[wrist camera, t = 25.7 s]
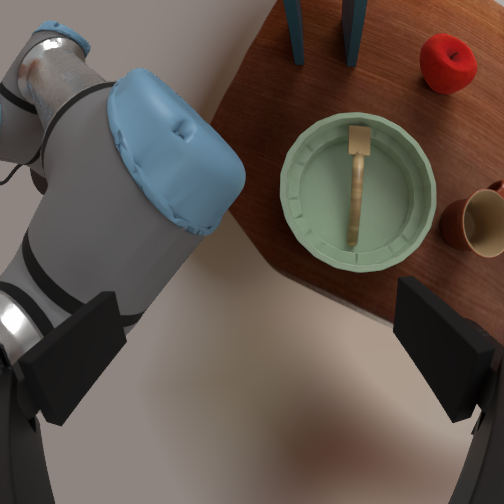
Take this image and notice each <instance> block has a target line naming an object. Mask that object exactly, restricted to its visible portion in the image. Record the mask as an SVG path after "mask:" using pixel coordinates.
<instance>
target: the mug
mask: <svg viewBox="0 0 504 504" xmlns="http://www.w3.org/2000/svg"><path fill="white" fill-rule="evenodd" d="M440 229H441V233H442V236H443V238H444V240H445V241H446V242H447V243H448V244H449V245H450V246H451V247H453V248H455V249H457V250H461V251H473V252H474V253H475V254H476V255H478V256H480V257H483V258H494V257H497V256H499V255H500V254H501V253H503V252H504V180H499V181H497V182H495V183H493V184H492V185H490V186H489V187H488V188H487V189H480V190H477V191H476V192H474V193H473V194H471V195H470V197H469V198H468V199H463V200H457V201H455V202H453V203H452V204H450V205H449V206H448V207H447V208H446V209H445V210H444V212H443V214H442V216H441V220H440Z"/></svg>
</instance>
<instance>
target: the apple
mask: <svg viewBox="0 0 504 504" xmlns="http://www.w3.org/2000/svg"><path fill="white" fill-rule="evenodd" d="M420 68H421V70H422V73H423V76H424V79H425V81H426V82H427V84H428V85H429V87H430V88H431V89H432V90H434V91H435V92H437V93H440V94H451V93H454V92H457V91H459V90H461V89H462V88H464V87H466V86H467V85H468V84H470V83H471V81H472V80H473V79H474V77H475V75H476V72H477V62H476V60H475V57H474V55H473V53H472V51H471V49H470V48H469V47H468V46H467V45H466V44H465V43H464V42H462V41H461V40H459V39H457V38H455V37H453V36H450V35H448V34H446V33H441V34H436V35H433V36H432V37H431V38H429V39H428V40H427V41H426V42H425V44H424V45H423V47H422V48H421V53H420Z"/></svg>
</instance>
